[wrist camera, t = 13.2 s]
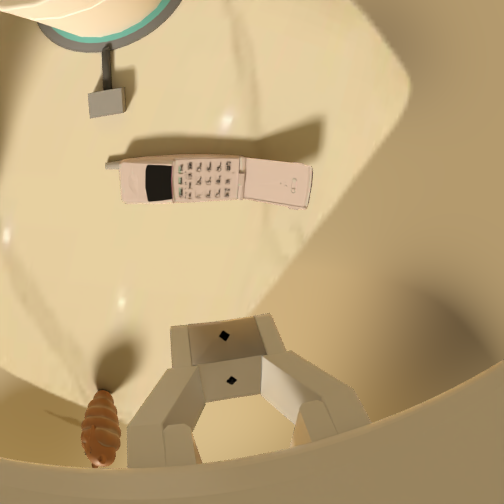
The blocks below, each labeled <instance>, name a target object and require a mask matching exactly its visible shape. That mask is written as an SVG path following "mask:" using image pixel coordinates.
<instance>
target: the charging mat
mask: <svg viewBox="0 0 504 504" xmlns="http://www.w3.org/2000/svg"><path fill="white" fill-rule="evenodd" d="M180 2H181V0H162V1H161V2H160V4H159V5H158V6H157V8H156V9H155V10H154V11H152V12H151V13H150V14H149V15H148V16H146V17H145V18H144V19H143V20H142V21H141V22H139V23H137V24H135V25H133V26H131V27H130V28H128V29H126V30H124V31H122V32H119V33H115V34H111V35H107V36H103V37H80V36H77V35H74V34H71V33H68V32H66V31H63V30H60V29H57V28H54V27H51V26H48V25H45V24H42V23H39V22H37V23H38V25H39V27H40V29H41V30H42V32H43V33H44V34H45V35H46V36H47V37H48V38H49V39H50V40H51V41H52V42H54V43H56V44H57V45H59V46H61V47H64V48H66V49H69V50H73V51H78V52H102V71H103V89H104V91H99V92H94V93H89V94H88V102H89V113H90V118H96V117H101V116H107V115H113V114H119V113H124V112H125V111H126V104H125V88H124V87H123V88H116V89H112V85H111V64H110V50H113V49H117V48H120V47H123V46H126V45H129V44H131V43H133V42H135V41H137V40H139V39H141V38H143V37H144V36H146V35H148V34H149V33H151V32H152V31H154V30H155V29H156V28H158V27H159V26H160V25H161V24H162V23H163V22H165V21H166V20H167V19H168V17H169V16H170V15H171V14H172V13H173V12H174V11H175V9H176V8H177V7H178V5H179V4H180Z"/></svg>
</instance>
